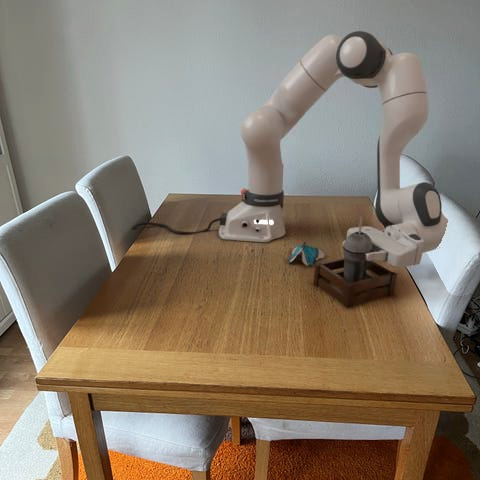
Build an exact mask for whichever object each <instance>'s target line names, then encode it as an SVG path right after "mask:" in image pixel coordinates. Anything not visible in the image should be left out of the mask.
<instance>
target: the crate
mask: <svg viewBox="0 0 480 480" xmlns="http://www.w3.org/2000/svg"><path fill="white" fill-rule="evenodd" d="M339 269H341V270H339ZM334 270H337V271H334ZM370 272H371V273H370ZM375 275H376V276H375ZM397 277H398V273H396V272H394V271H392V270H389V269H388V268H387V267H384V266H382V265H381V264H379V263H377V262H375V261H374V260H371V261H369V262H368V266H367V271H366V275H365V279H364V280H361V281H357V282H353V283H352V282H349V281H347V280H346V279H344V257H340V258H336V259H333V260H327V261H323V262H315V263H314V273H313V285H314V286H315V287H318V288H320V289H321V290H322V291H324V292H325V293H327V294H328V295H330V296H331V297H333V299H336V301H338V302H339V303H341V304H342V305H343V307H345V308H347V309H349V308H352V307H354V306H357V305H362V304H364V303H369V302H372V301H375V300H379V299H383V298H387V297H392V296H394V295H395V294H394V293H395V289H396V284H397ZM370 289H371V290H370ZM366 290H367V291H366ZM359 291H361V292H360V293H356V294H354V293H355V292H359ZM362 291H363V292H362Z"/></svg>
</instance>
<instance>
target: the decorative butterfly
mask: <svg viewBox="0 0 480 480" xmlns="http://www.w3.org/2000/svg"><path fill="white" fill-rule="evenodd" d="M301 238H302V240H303V244H300V245H298V246H296V247H295V248H293V250H292V252H291V256H290V258H289V260H288V263H292V262H293V261H294V260H295V258H296V257H297V256H298V255H299V254H300V253H302V257H301V261H302V263H303V264H304V265H305V266H308V267H312V266H315V264H316V262H317V261H319V259H324V258H325V253H324V252H323V251H322V250H320V249H319V248H318V247H317V248H316V247H314V246H310V245H308V244H306V243H307V242H305V241H304V238H303V237H301Z"/></svg>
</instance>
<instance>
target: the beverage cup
mask: <svg viewBox="0 0 480 480" xmlns="http://www.w3.org/2000/svg"><path fill="white" fill-rule="evenodd" d="M362 225H363V215H361V216H360V217H359V226H358V227H359V232H354V233H352V234H350V235H349V236H348V237H347V236H346V239H345V240H344V241H345V243H344V246H343V245H342V249H343V256H344V257H343V258H344V268H343V270H344V279H346V280H347V281H349V282H352V283H353V282H357V281H361V280H364V279H365V275H366V271H367V272H368V270H367V266H368V262H369V261H367V260H366V259H364V253H365V252H369V251H371V252H372V251H373V246H372V240H371V238H370V237H369V236H368V235H367V234H366V233H363V232H361V227H363V226H362ZM359 293H362V291H359V292H355V293H354V295H356V294H359Z"/></svg>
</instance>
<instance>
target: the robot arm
mask: <svg viewBox="0 0 480 480" xmlns="http://www.w3.org/2000/svg"><path fill="white" fill-rule="evenodd" d="M344 77H345V78H347V79H349V81H351V82H353V83H354V84H356V85H360V86H362V87H365V88H369V89H375V88H378V90H379V94H380V101H381V103H380V104H381V110H382V113H381V114H382V121H381V128H380V129H381V130H380V134H379V135H378V139H377V144H376V145H377V147H376V173H377V175H376V177H377V179H376V181H377V193H376V199H375V205H374V211H375V216H376V218H377V220H378V221H379V223H380V224H381V225H383V226H384V227H385V229H384V230H383V231H382V230H380V229H377V228H375V227H374V226H369V225H367V226H361V232H363V233H366V234H367V235H368V236H369V237H370V238H371V240H372V246H373V251H372V252H371V251H369V252H365V253H364V259H366V260H367V261H378V262H384V263H386V264H388V265H389V266H392V267H393V268H398V269H401V268H403V269H404V268H406V267H411V266H418V265H420V263H421V261H422V257H423V254H425V253H428V252H431V251H435V250H437V249H438V248H437V247H438V246H439V244H440V243H441V241H442V238H443V236H444V234H445V231H446V227H447V223H448V220H449V219H448V218H447V217H446V216H445V215H444V213H443V211H442V207H443V205H442V199H441V198H442V197H441V195H440V192H439V191H438V189H437V188H436V187H435V186H434V185H432V184H431V183H430V182H426V181H423V182H420V183H419V182H418V183H415V184H411V185H408V186H405V187H401V177H400V176H401V157H402V154H403V151H404V149H405V148H406V147H407V145H408V144H409V143H410V142H411V141H412V139H414V138H415V137H416V136H417V135H418V134H419V133H420V132H421V131H422V129H423V128H424V127H425V125H426V122H427V121H428V117H429V108H430V107H429V97H428V92H427V91H428V89H427V85H426V79H425V75H424V71H423V67H422V65H421V62H420V59H419V58H418V56H417V55H416V54H414V53H412V52H399V53H395V54H393V52H392V51H391V49H390V48H389V47H388V46H387V45H386V44H385V43H384V42H383V41H382V40H381V39H380V38H377V37H375V36H374V35H373V34H371V33H370V32H368V31H362V30H356V31H352V32H350V33H348V34H347V35H346V36H344V37H341V36H339V35H336V34H328V35H326V36H324V37H323V38H322V39H321V40H319V41H318V42H317V43H316V44H314V45H313V46H312V47H311V48H309V50H308V51H307V52H306V53H305V54H304V55H303V56H302V57H301V58H300V60H299V61H298V62H297V63H296V64H295V65H294V66H293V67H292V69H291V70H290V71H289V72H288V73H287V75H285V77H284V78H283V79H282V80H281V81H280V83H279V84H278V86H277V88H276V89H275V90H274V92H273V93H272V95H270V97H269V98H268V99H267V101H265V103H264V104H263V105H261V106H260V107H259V108H257V109H255V110H252V111H251V112H249V114H248V115H246V116H245V119H244V120H243V122H242V125H241V129H240V136H241V139H242V141H243V143H244V148H245V154H246V160H247V173H248V175H247V176H248V177H247V178H248V179H247V180H248V181H247V182H248V183H247V184H248V185H247V186H248V187H247V188H248V189H247V188H245V187H243V188H242V189H240V195H241V201H240V203H238V204H237V205H235V206H234V207H233V208H231V209H230V210H229V211H228V212H222V213H221V215H220V216H219V217H218V218H215V219H213V220H211V221H210V222H209V224H208V226H207V227H206V228H205V229H202V230H199V231H182V230H175V229H173V228H171V227H170V226H169V225H167V224H165V223H160V222H152V221H151V222H150V221H142V222H138V223H136V224H134V225H133V226H132V227H131V228H130V230H134V229H136V228H137V227H139V226H144V225H145V226H146V225H148V226H149V225H151V226H161V227H164V228H166V229H167V230H168V231H170V232H172V233H174V234H180V235H194V234H195V235H196V234H199V233H205V232H207V231H209V230H210V229H211V227H212V225H213V224H214V223H216V222H219V225H220V226H219V228H218V236H219V237H220V239H223V240H226V241H227V240H228V241H239V242H240V241H241V242H252V243H253V242H254V243H270V242H271V241H273V240H276V239H280V238H282V237H284V236H285V235H286V233H287V231H286V226H285V222H284V213H283V212H284V211H283V210H284V209H283V208H284V205H285V192H284V188H283V186H284V163H283V159H282V151H281V140H283V139H284V138H285V137H286V136H287V135H288V134H289V132H291V130H292V129H293V128H294V127H295V126H296V125H297V124H298V123H299V122H300V120H301V119H302V118H303V117H304V116H305V115H306V114H307V113H308V112H309V110H310V109H311V108H312V107H313V106H314V105H315V104H316V103H317V102H318V101H319V100H320V99H321V98H322V97H323V96H324V95H325V94H326V92H328V90H329V89H330V88H331V87H332V86H333V85H334V84H336V82H337V81H339V79H341V78H344ZM354 232H359V226H355V227H351V228H349V229H348V230H347V233H346V238H347V237H348V236H349V235H350V234H352V233H354ZM344 243H345V240H343V241H342V247H343V246H344ZM436 248H437V249H436Z"/></svg>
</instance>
